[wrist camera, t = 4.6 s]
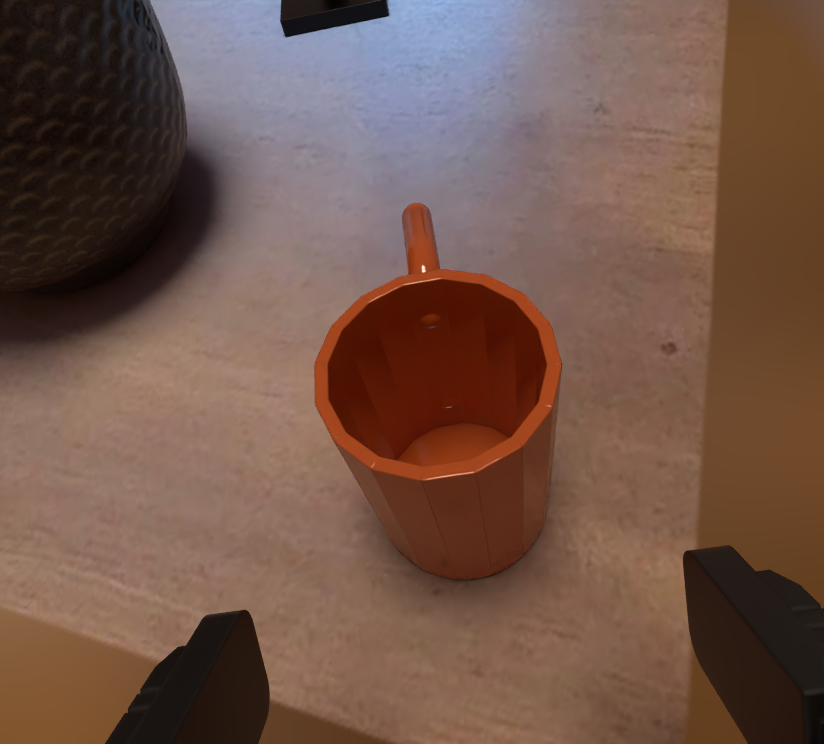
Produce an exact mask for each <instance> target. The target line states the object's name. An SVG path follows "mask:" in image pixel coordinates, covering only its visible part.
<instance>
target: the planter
mask: <svg viewBox="0 0 824 744" xmlns="http://www.w3.org/2000/svg"><path fill="white" fill-rule="evenodd" d="M186 141H187V120H186V110H185V102H184V97H183V91H182V87H181V83H180V80H179V76H178V73H177V69H176V66H175V63H174V60H173V58H172V55H171V52H170V49H169V47H168V44H167V41H166V39H165V36H164V33H163V31H162V28H161V26H160V23H159V21H158V19H157V16H156V14H155V12H154V9H153V7H152V5H151V2H150V0H0V292H6V291H19V290H23V291H27V292H32V293H41V294H52V293H64V292H70V291H75V290H79V289H82V288H86V287H89V286H91V285H94V284H96V283H99V282H101V281H103V280H105V279H107V278H109V277H111V276H113V275H115V274H116V273H118V272H120V271H121V270H123V269H124V268H126V267H127V266H128V265H130V264H131V263H132V262H133V261H135V260H136V259H137V258H138V257H139V256H140V255H141V254H142V253H143V252H144V251H145V250H146V249H147V248H148V247H149V246H150V245H151V244H152V242H153V241H154V240H155V238H156V237H157V235H158V234H159V232H160V230H161V229H162V226H163V224H164V222H165V219H166V216H167V213H168V208H169V197H170V195H171V193H172V191H173V189H174V186H175V184H176V181H177V179H178V176H179V174H180V171H181V168H182V163H183V159H184V153H185V148H186Z"/></svg>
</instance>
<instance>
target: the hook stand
mask: <svg viewBox="0 0 824 744" xmlns="http://www.w3.org/2000/svg"><path fill="white" fill-rule="evenodd" d="M387 15H389V13H388V5H387V0H281V19H280V22H281V25H282V28H283V31H284V34H285V36H290V35H295V34H300V33H305V32H310V31H314V30H319V29H324V28H329V27H334V26H339V25H344V24H348V23H353V22H358V21H363V20H368V19H373V18H378V17H383V16H387Z"/></svg>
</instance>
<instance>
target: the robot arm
mask: <svg viewBox="0 0 824 744" xmlns="http://www.w3.org/2000/svg"><path fill="white" fill-rule="evenodd" d="M683 569H684V580H685V590H686V601H687V612H688V623H689V631H690V637H691V641H692V645H693V648H694V651H695V654H696V656H697V659H698V661H699V663H700V665H701V667H702V669H703V671H704V672H705V674H706V675H707V677H708V679H709V680H710V682H711V684H712V685H713V687H714V689H715V690H716V692H717V694H718V695H719V697H720V698H721V700H722V702H723V703H724V705H725V707H726V708H727V710H728V712H729V713H730V715H731V716H732V718H733V720H734V721H735V723H736V725H737V726H738V728H739V729H740V731H741V732H742V734H743V736H744V737H745V739H746V741H747V743H748V744H824V609H821V607H820V604H819V603H818V602H817V601H816V600H815V599H814V598H813V597H812V596H811V595H810V594H809V593H807V591H805V590H804V589H803V588H802V587H801V586H800V585H799V584H797V583H795V582H793V581H791V580H789V579H787V578H785V577H783V576H781V575H779V574H777V573H775V572H773V571H771V570H764V571H755V570H754V569H753V568H752V567H751V566H750V565H749V564H748V563H747V562H746V561H745V560H744V559H743V558H742V557H741V556H740V555H739V553H738V552H737V551H736V550H735V549H734V548H733V547H731V546H729V545H726V546H719V547H711V548H705V549H697V550H689V551H685V553H684V555H683ZM140 691H141V692H140V694H137V696H136V697H135V699H134V700H133V702H132V703H131V705H130V706H129V708H128V713H125V714H124V715H123V717H122V718H121V720H120V721H119V723H118V725H117V726H116V728H115V729H114V731H113V732H112V734H111V735H110V737H109V738H108V740H107V741H106V743H105V744H258V743H259V740H260V737H261V734H262V731H263V728H264V725H265V723H266V720H267V716H268V711H269V701H270V693H269V683H268V678H267V674H266V670H265V666H264V662H263V659H262V655H261V651H260V647H259V643H258V639H257V635H256V631H255V627H254V623H253V620H252V617H251V615H250V613H249V612H248V611H247V610H240V611H232V612H225V613H217V614H210V615H206V616H205V617H204V618H203V619H202V620H201V622H200V624H199V625H198V627H197V629H196V630H195V632H194V633H193V635H192V637H191V638H190V640H189V642H188V643H187V645H186V646H180V647H177V648H176V649H175V650H174V651H173V652H172V653H171V654H169V655H168V656H167V657H166V658H165V659H164V660H163V661H162V662H160V663H159V664H158V665H157V666H156V667H155V668H154V670H153V671H152V673H151V674H150V676H149V677H148V679H147V680H146V682H145V683H144V685H143V686H142V688H141V690H140Z"/></svg>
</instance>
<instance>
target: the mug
mask: <svg viewBox="0 0 824 744" xmlns="http://www.w3.org/2000/svg"><path fill="white" fill-rule="evenodd" d="M402 223H403V231H404V240H405V248H406V257H407V265H408V274H409V275H406V276H401V277H398V278H396V279H394V280H392V281H390V282H388V283H386V284H384V285H382V286H380V287H378V288H376V289H374V290H372V291H370V292H368V293H366V294H364V295H362V297H360V298H359V299H358V300H357V301H356V302H355V303H354V304H353V305H352V306H351V307H350V308H349V309H348V310H347V311H346V312H345V313H344V314H343V315H342V316H341V317H340V318H339V319H338V320H337V321H336V322H335V323H334V324H333V325H332V327H331V328H330V330H329V332H328V335H327V337H326V339H325V341H324V344H323V346H322V348H321V350H320V352H319V355H318V357H317V359H316V361H315V406H316V408H317V410H318V412H319V414H320V416H321V417H322V419H323V421H324V423H325V425H326V427H327V429H328V431H329V433H330V435H331V437H332V439H333V441H334V443H335V444H336V446H337V448H338V449H339V451H340V453H341V455H342V456H343V458H344V460H345V461H346V463H347V465H348V467H349V468H350V470H351V472H352V474H353V475H354V477H355V479H356V480H357V482H358V484H359V486H360V487H361V489H362V491H363V492H364V494H365V496H366V498H367V499H368V501H369V503H370V504H371V506H372V508H373V510H374V511H375V513H376V515H377V516H378V518H379V520H380V522H381V523H382V525H383V527H384V528H385V530H386V532H387V534H388V535H389V537H390V539H391V540H392V542H393V544H394V546H395V547H396V548H397V549H399V550H400V552H401V553H402V554H403V555H404V556H405V557H406V558H407V559H409V560H410V561H411V562H412V563H414V564H415V565H417V566H418V567H419V568H421V569H423V570H425V571H427V572H429V573H432V574H435V575H437V576H440V577H445V578H450V579H462V580H465V579H477V578H482V577H486V576H489V575H492V574H495V573H498V572H500V571H502V570H504V569H506V568H508V567H509V566H511V565H512V564H514V563H515V562H516V561H518V560H519V559H520V558H521V557H522V556H523V555H524V554H525V553H526V552H527V551H528V550H529V549H530V547H531V546H532V545H533V543H534V542H535V540H536V539H537V537H538V535H539V533H540V531H541V529H542V527H543V524H544V520H545V516H546V511H547V504H548V499H549V494H550V484H551V474H552V464H553V453H554V443H555V433H556V422H557V412H558V402H559V391H560V381H561V371H562V363H561V359H560V355H559V352H558V348H557V344H556V340H555V337H554V333H553V329H552V326H551V325H550V323H549V322H548V321H547V320H546V318H545V317H544V316H543V315H542V314H541V313H540V312H539V310H538V309H537V308H536V307H535V306H534V305H533V303H532V302H531V301H530V300H529V299H528V298H527V297H526V295H525V294H523V293H522V292H520V291H518V290H516V289H514V288H512V287H510V286H508V285H506V284H504V283H502V282H500V281H498V280H496V279H494V278H492V277H490V276H488V275H484V274H477V273H469V272H462V271H454V270H447V269H444V270H443V269H441V270H440V265H439V259H438V253H437V247H436V241H435V235H434V229H433V223H432V217H431V213H430V211H429V209H428V208H427V207H426V206H425V205H424V204H421V203H412V204H410V205H408V206H407V207H406V208H405V210H404V211H403V214H402Z"/></svg>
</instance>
